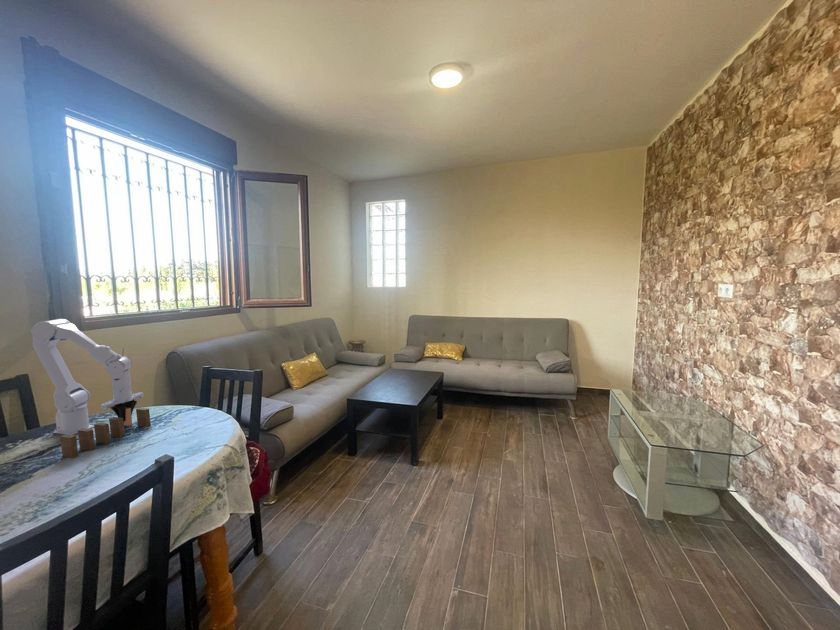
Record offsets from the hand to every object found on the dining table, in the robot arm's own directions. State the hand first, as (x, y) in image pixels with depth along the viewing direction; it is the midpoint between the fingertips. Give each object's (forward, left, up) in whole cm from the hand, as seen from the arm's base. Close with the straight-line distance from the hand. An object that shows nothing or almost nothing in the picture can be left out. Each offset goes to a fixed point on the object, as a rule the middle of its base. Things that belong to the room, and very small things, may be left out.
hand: (125, 420), depth 136 cm
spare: (0, 0, -2) cm, 2 cm away
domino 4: (+8, -8, -2) cm, 12 cm away
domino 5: (+8, +1, -2) cm, 8 cm away
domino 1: (+8, -23, -2) cm, 24 cm away
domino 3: (+8, -13, -2) cm, 16 cm away
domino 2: (+8, -18, -2) cm, 20 cm away
